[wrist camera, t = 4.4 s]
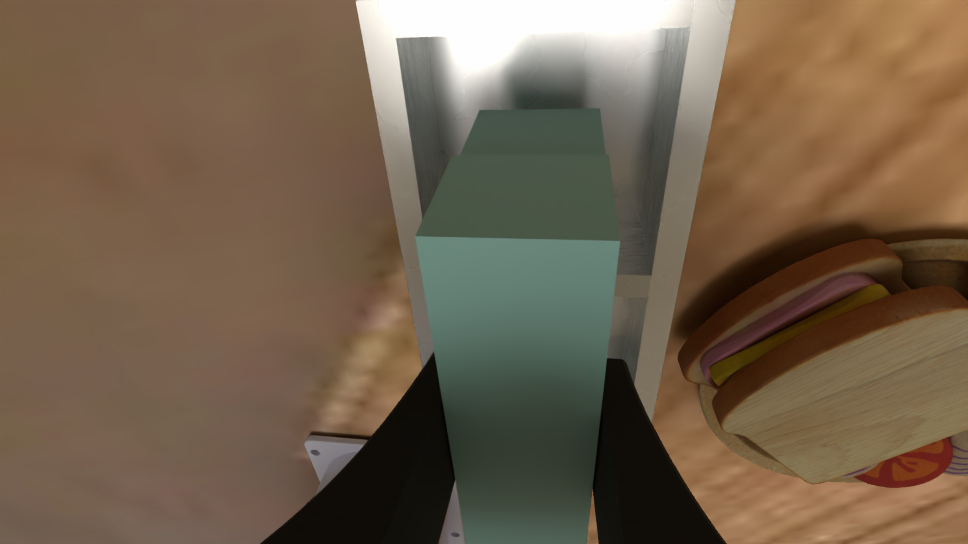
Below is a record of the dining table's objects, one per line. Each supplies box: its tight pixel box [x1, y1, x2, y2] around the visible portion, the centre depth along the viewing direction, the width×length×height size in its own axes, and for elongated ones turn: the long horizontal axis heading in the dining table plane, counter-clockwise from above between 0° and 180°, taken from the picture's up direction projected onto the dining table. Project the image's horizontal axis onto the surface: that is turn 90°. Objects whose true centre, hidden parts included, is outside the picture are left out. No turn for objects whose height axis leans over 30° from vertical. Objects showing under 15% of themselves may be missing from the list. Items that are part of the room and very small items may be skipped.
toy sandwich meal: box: [678, 239, 968, 488], centre depth 18 cm, size 12×14×5 cm
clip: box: [415, 108, 620, 544], centre depth 13 cm, size 10×3×6 cm, turn 4°
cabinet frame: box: [356, 0, 736, 423], centre depth 17 cm, size 15×8×4 cm, turn 4°
